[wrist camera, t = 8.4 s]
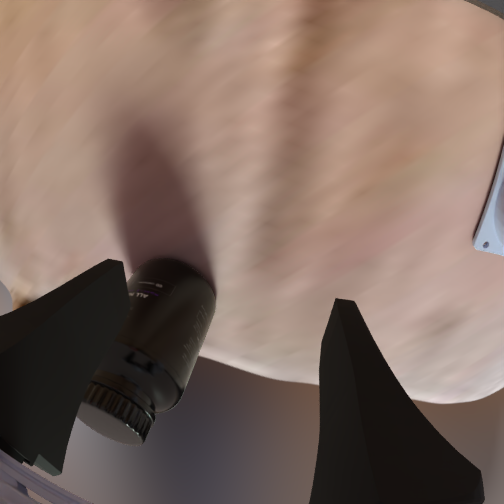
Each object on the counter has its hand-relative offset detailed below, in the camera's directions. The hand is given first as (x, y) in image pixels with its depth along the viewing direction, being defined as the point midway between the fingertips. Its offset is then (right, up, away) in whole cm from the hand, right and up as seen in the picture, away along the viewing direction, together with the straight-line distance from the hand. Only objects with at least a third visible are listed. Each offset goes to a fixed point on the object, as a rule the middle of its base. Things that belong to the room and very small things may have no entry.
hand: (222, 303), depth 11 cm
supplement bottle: (-5, -1, +14) cm, 15 cm away
